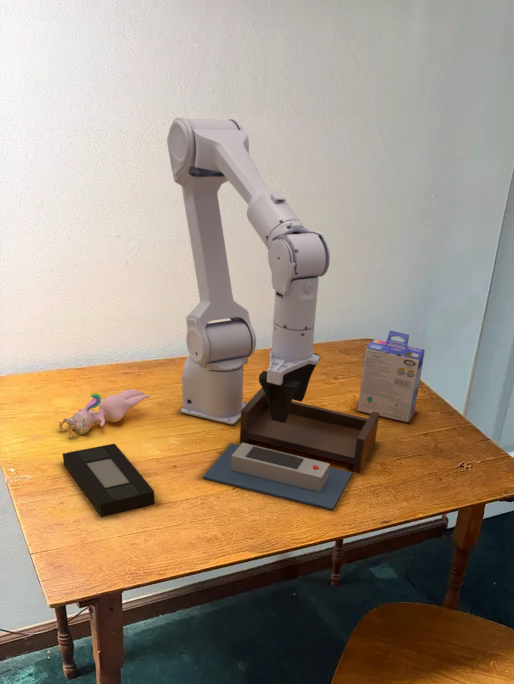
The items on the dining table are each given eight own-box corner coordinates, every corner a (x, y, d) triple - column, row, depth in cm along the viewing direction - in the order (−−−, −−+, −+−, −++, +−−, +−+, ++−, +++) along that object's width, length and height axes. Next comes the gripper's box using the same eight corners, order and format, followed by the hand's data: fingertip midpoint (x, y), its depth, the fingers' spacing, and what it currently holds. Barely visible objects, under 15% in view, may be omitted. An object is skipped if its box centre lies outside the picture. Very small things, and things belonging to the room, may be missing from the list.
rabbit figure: (79, 450, 119) (160, 410, 128) (70, 418, 115) (154, 378, 124) (56, 434, 122) (136, 396, 131) (46, 401, 118) (130, 364, 127)
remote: (231, 470, 118) (231, 454, 117) (241, 457, 122) (242, 441, 120) (320, 492, 117) (321, 476, 115) (328, 478, 121) (330, 462, 119)
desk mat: (202, 478, 116) (202, 476, 116) (231, 445, 125) (231, 443, 125) (332, 510, 114) (332, 508, 114) (352, 474, 123) (352, 472, 123)
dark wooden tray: (239, 443, 126) (240, 410, 122) (261, 417, 134) (263, 385, 130) (359, 473, 124) (364, 439, 121) (374, 444, 132) (379, 412, 129)
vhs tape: (115, 455, 118) (114, 443, 116) (155, 503, 109) (154, 491, 108) (64, 465, 113) (62, 453, 112) (101, 516, 105) (99, 504, 104)
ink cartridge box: (415, 411, 145) (428, 336, 136) (409, 424, 140) (423, 347, 132) (363, 399, 145) (373, 324, 137) (356, 411, 141) (366, 334, 133)
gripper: (304, 346, 103) (297, 437, 111) (336, 312, 115) (327, 396, 123) (254, 334, 104) (250, 425, 112) (290, 302, 116) (284, 386, 124)
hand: (287, 409), depth 118 cm, fingers open, 7 cm apart
